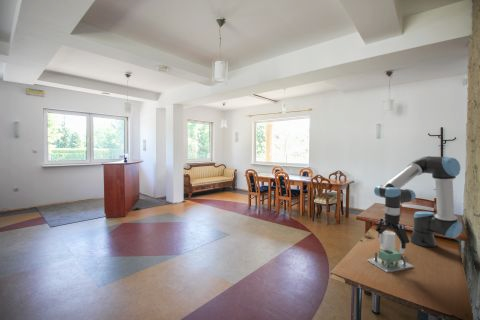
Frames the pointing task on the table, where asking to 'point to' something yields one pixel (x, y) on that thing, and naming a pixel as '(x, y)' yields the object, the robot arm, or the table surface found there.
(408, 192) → the robot arm
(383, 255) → the board
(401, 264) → the chassis
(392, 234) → the mug
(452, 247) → the table surface
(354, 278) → the table surface
